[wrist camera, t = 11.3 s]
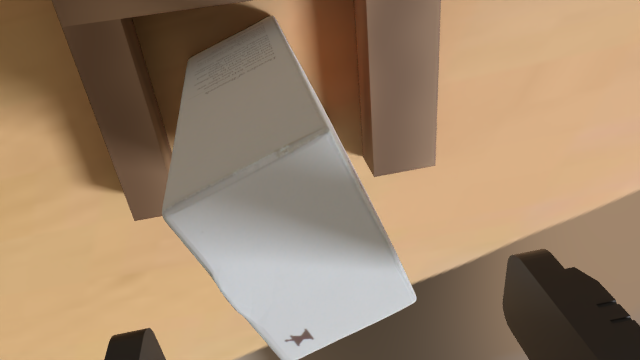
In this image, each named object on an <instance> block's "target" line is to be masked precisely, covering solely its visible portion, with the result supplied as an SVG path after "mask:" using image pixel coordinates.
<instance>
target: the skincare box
mask: <svg viewBox="0 0 640 360" xmlns="http://www.w3.org/2000/svg"><path fill="white" fill-rule="evenodd" d="M162 216H163V218H164V220H165V222H166V223H167V224H168V225H169V226H170V228H171V229H172V230H173V231H174V232H175V234H176V235H177V236H178V237H179V238H180V240H181V241H182V242H183V243H184V244H185V246H186V247H187V248H188V249H189V250H190V252H191V253H192V254H193V255H194V256H195V258H196V259H197V260H198V261H199V262H200V264H201V265H202V266H203V267H204V268H205V269H206V271H207V272H208V273H209V274H210V276H211V277H212V279H213V280H214V281H215V283H216V284H217V286H218V288H219V289H220V291H221V292H222V294H223V295H224V296H225V298H226V299H227V300H228V302H229V303H230V304H231V305H232V306H233V308H234V309H235V310H236V311H237V312H238V313H240V314H241V315H242V316H243V317H244V318H245V319H246V320H247V321H248V322H249V323H250V324H251V325H252V327H253V328H254V329H255V330H256V331H257V332H258V333H259V334H260V336H261V337H262V338H263V339H264V340H265V342H266V343H267V344H268V345H269V346H270V348H271V349H272V350H273V351H274V352H275V353H276V355H277V356H278V357H279V358H280V359H281V360H298V359H300V358H302V357H304V356H306V355H308V354H310V353H312V352H314V351H316V350H318V349H321V348H323V347H325V346H327V345H329V344H331V343H333V342H335V341H337V340H339V339H341V338H343V337H346V336H348V335H350V334H352V333H354V332H357V331H359V330H361V329H363V328H365V327H367V326H369V325H371V324H373V323H375V322H377V321H380V320H382V319H384V318H386V317H388V316H389V315H392V314H394V313H396V312H398V311H400V310H401V309H403V308H405V307H407V306H409V305H411V304H413V303H414V302H415V301H416V295H415V293H414V291H413V289H412V286H411V284H410V282H409V279H408V277H407V275H406V273H405V271H404V268H403V266H402V264H401V262H400V260H399V257H398V255H397V253H396V251H395V249H394V247H393V245H392V243H391V241H390V239H389V237H388V235H387V233H386V231H385V229H384V227H383V225H382V223H381V221H380V219H379V217H378V215H377V213H376V211H375V209H374V207H373V204H372V202H371V200H370V198H369V196H368V194H367V192H366V190H365V188H364V186H363V184H362V183H361V181H360V179H359V177H358V175H357V173H356V171H355V169H354V167H353V165H352V163H351V161H350V159H349V157H348V155H347V153H346V151H345V149H344V147H343V145H342V143H341V141H340V139H339V137H338V135H337V133H336V131H335V129H334V127H333V125H332V123H331V122H330V120H329V118H328V116H327V114H326V112H325V110H324V108H323V106H322V104H321V102H320V101H319V99H318V97H317V95H316V93H315V91H314V89H313V87H312V85H311V84H310V82H309V80H308V78H307V76H306V74H305V72H304V71H303V69H302V67H301V65H300V63H299V61H298V60H297V58H296V56H295V54H294V52H293V51H292V49H291V47H290V45H289V43H288V42H287V39H286V37H285V36H284V34H283V32H282V30H281V28H280V26H279V24H278V22H277V20H276V19H275V17H274V16H269V17H266V18H264V19H263V20H261V21H259V22H257V23H256V24H254V25H252V26H250V27H249V28H247V29H245V30H243V31H241V32H239V33H237V34H235V35H233V36H231V37H229V38H227V39H225V40H223V41H221V42H219V43H217V44H215V45H214V46H212V47H210V48H208V49H206V50H204V51H202V52H200V53H198V54H196V55H195V56H193V57H191V58H189V59H188V62H187V68H186V74H185V80H184V86H183V92H182V98H181V104H180V110H179V116H178V122H177V128H176V134H175V140H174V146H173V151H172V158H171V164H170V169H169V173H168V180H167V185H166V191H165V196H164V201H163V207H162Z"/></svg>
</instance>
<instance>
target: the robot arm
mask: <svg viewBox="0 0 640 360" xmlns="http://www.w3.org/2000/svg"><path fill="white" fill-rule="evenodd" d="M503 311H504V315H505V319H506V321H507V324H508V326H509V328H510V330H511V331H512V333H513V335H514V336H515V338H516V339H517V341H518V342H519V344H520V346H521V347H522V349H523V350H524V352H525V354H526V355H527V357H528V358H529V360H640V326H639V325H638V324H637V323H636V321H635V320H631V318H630V315H629V314H628V313H627V312H626V311H625V310H624V309H623V308H622V306H621V305H619V304H617V303H616V300H615V299H614V298H613V297H612V296H611V295H610V294H609V293H608V291H607V290H606V289H605V288H604V287H603V286H602V285H601V284H600V283H599V282H598V281H597V280H595V279H593V278H591V277H590V276H588V275H586V274H585V273H583V272H582V271H580V270H578V269H577V268H575V267H572V268H568V269H564V268H563V266H562V265H561V264H560V263H559V262H558V261H557V260H556V259H555V258H554V256H553V255H552V254H551V253H550V252H549V251H548V250H546V249H540V250H536V251H531V252H526V253H521V254H516V255H512V256H510V257H509V259H508V263H507V272H506V280H505V288H504V296H503ZM105 360H166V359H165V357H164V354H163V352H162V350H161V348H160V346H159V343H158V341H157V339H156V337H155V334H154V332H153V331H152V330H151V329H150V328H147V329H142V330H137V331H132V332H127V333H123V334H118V335H114V336H112V338H111V339H110V341H109V345H108V348H107V352H106V356H105Z"/></svg>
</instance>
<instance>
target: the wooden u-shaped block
mask: <svg viewBox="0 0 640 360" xmlns="http://www.w3.org/2000/svg"><path fill="white" fill-rule="evenodd" d="M244 1H251V0H52V2H53V5H54V8H55V10H56V13H57V16H58V18H59V21H60V24H61V26H62V29H63V32H64V34H65V37H66V40H67V42H68V45H69V48H70V50H71V53H72V56H73V58H74V61H75V64H76V66H77V69H78V72H79V74H80V77H81V80H82V82H83V85H84V88H85V90H86V93H87V96H88V98H89V101H90V104H91V106H92V109H93V112H94V114H95V117H96V120H97V122H98V125H99V128H100V130H101V133H102V136H103V138H104V141H105V144H106V146H107V149H108V152H109V154H110V157H111V160H112V162H113V165H114V167H115V170H116V173H117V175H118V178H119V181H120V183H121V186H122V189H123V191H124V194H125V197H126V199H127V202H128V205H129V207H130V210H131V213H132V215H133V218H134V221H137V220H143V219H148V218H154V217H159V216H162V207H163V201H164V196H165V191H166V185H167V180H168V173H169V169H170V164H171V158H172V152H171V148H170V145H169V142H168V138H167V135H166V132H165V128H164V125H163V121H162V118H161V115H160V111H159V108H158V105H157V101H156V98H155V95H154V91H153V88H152V84H151V81H150V78H149V74H148V71H147V68H146V64H145V61H144V57H143V54H142V51H141V47H140V44H139V41H138V37H137V34H136V30H135V27H134V24H133V20H132V17H137V16H144V15H151V14H159V13H166V12H173V11H180V10H187V9H194V8H201V7H209V6H216V5H223V4H230V3H237V2H244ZM354 8H355V25H356V42H357V60H358V77H359V94H360V112H361V129H362V146H363V158H364V160H365V161H366V163H367V165H368V167H369V168H370V170H371V172H372V174H373V176H374V177H376V176H382V175H387V174H393V173H398V172H404V171H409V170H414V169H420V168H425V167H431V166H435V160H436V130H437V100H438V70H439V40H440V10H441V0H354Z"/></svg>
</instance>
